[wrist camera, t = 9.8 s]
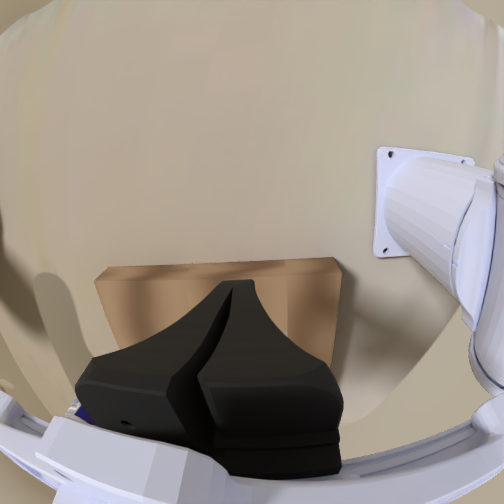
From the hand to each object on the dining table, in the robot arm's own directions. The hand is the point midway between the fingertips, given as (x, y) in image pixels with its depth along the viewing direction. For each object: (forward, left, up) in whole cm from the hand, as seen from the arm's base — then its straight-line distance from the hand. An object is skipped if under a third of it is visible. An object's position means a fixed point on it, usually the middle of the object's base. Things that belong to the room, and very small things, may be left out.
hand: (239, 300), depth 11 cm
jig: (+3, +10, -8) cm, 13 cm away
